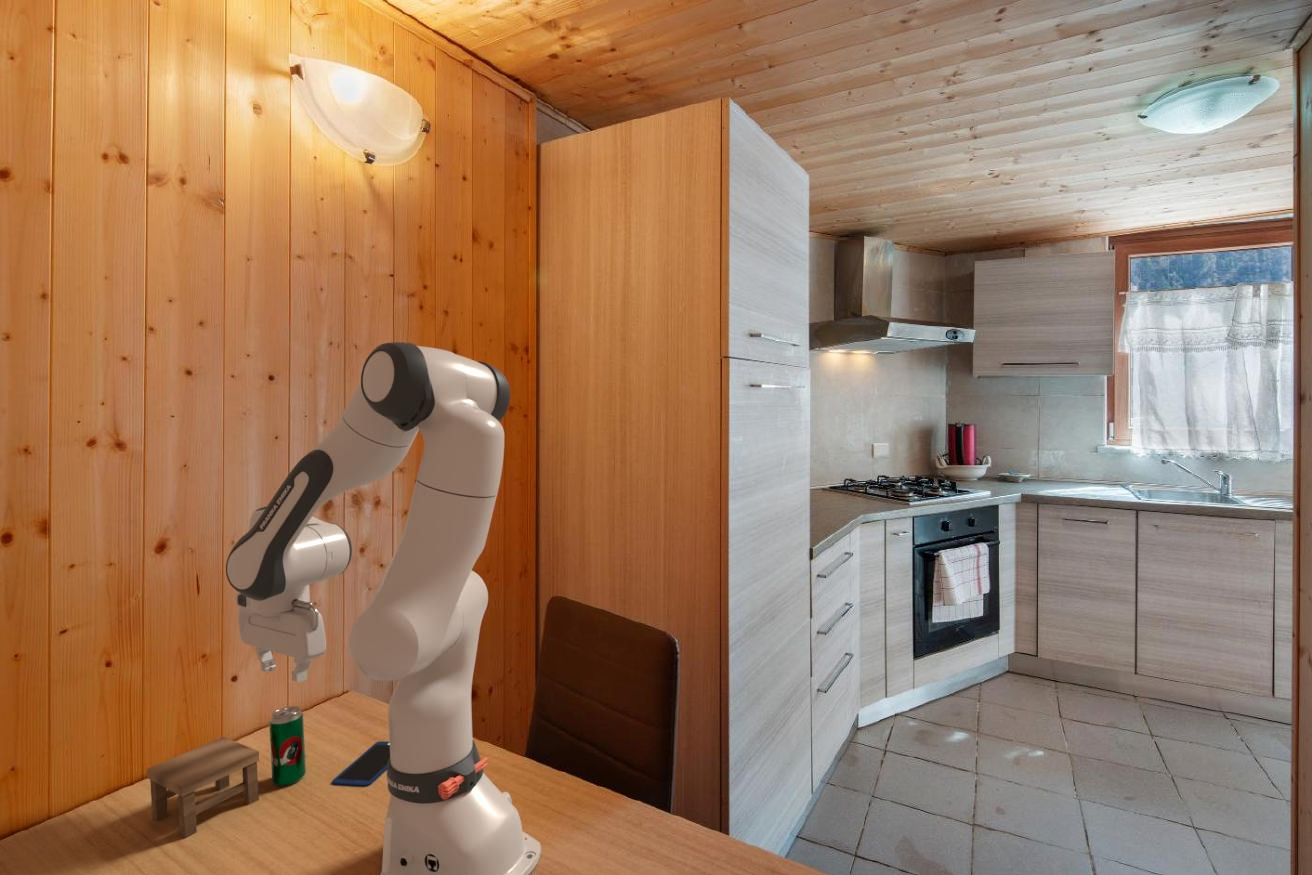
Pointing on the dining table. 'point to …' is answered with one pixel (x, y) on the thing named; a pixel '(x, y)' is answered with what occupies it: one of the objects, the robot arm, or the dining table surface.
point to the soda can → (287, 746)
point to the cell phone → (366, 767)
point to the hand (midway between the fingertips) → (283, 675)
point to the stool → (202, 779)
